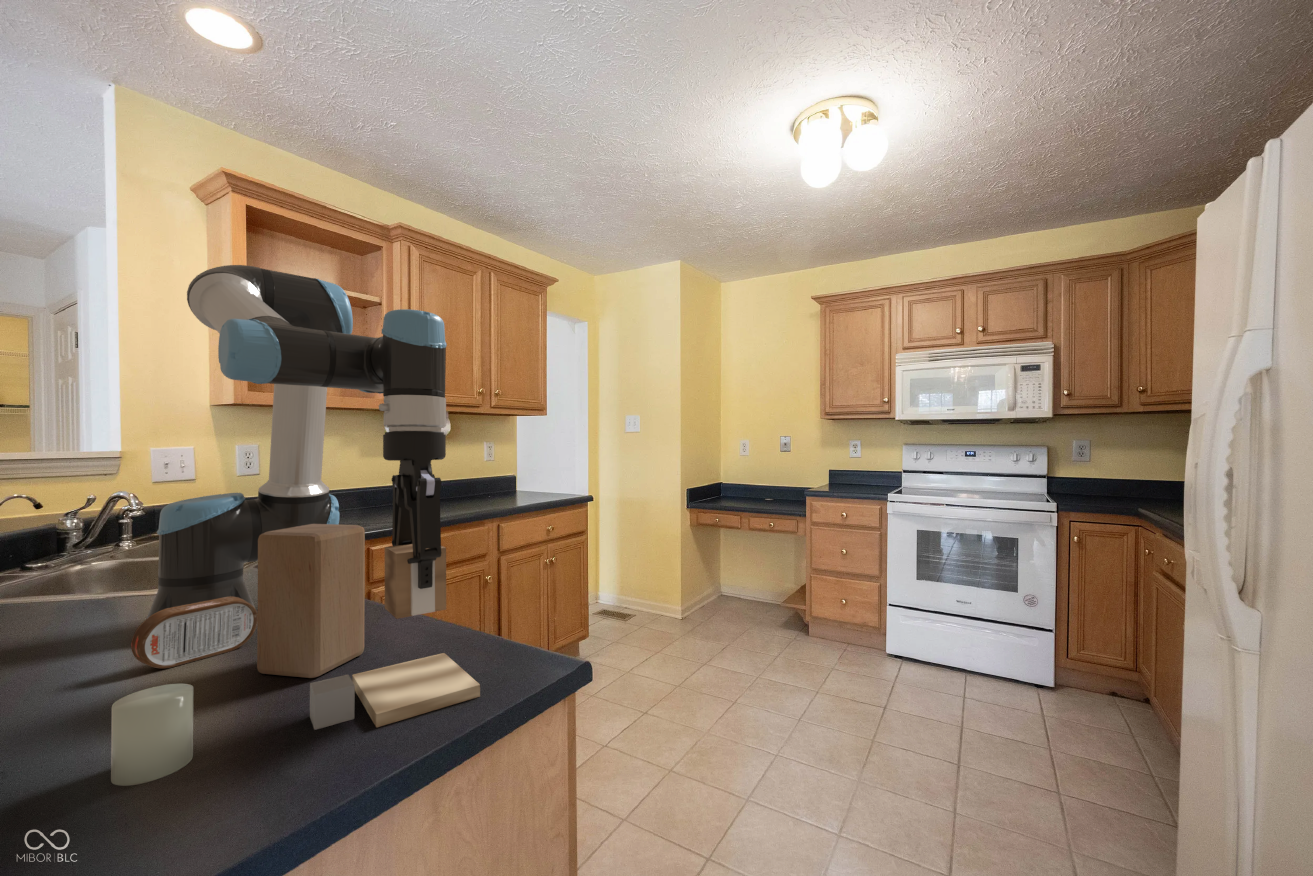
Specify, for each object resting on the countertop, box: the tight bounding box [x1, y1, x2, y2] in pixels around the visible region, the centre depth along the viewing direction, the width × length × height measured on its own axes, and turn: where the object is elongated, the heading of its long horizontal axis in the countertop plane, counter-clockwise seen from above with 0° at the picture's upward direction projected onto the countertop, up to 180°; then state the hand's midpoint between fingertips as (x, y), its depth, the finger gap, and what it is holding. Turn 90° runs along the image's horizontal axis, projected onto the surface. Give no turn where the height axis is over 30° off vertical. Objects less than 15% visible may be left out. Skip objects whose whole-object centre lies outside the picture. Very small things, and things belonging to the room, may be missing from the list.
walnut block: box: [384, 544, 447, 620], centre depth 71 cm, size 6×6×8 cm
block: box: [256, 524, 366, 679], centre depth 80 cm, size 10×10×20 cm
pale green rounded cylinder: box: [110, 683, 194, 787], centre depth 54 cm, size 6×6×7 cm
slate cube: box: [309, 673, 356, 731], centre depth 64 cm, size 4×4×4 cm
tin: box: [130, 597, 258, 669], centre depth 83 cm, size 15×3×8 cm, turn 150°
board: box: [351, 652, 481, 728], centre depth 71 cm, size 14×12×2 cm
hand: (415, 606), depth 71 cm, fingers closed on walnut block, 6 cm apart
